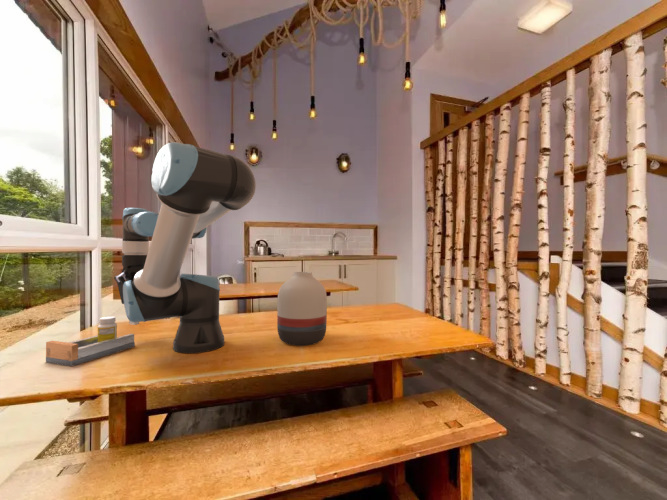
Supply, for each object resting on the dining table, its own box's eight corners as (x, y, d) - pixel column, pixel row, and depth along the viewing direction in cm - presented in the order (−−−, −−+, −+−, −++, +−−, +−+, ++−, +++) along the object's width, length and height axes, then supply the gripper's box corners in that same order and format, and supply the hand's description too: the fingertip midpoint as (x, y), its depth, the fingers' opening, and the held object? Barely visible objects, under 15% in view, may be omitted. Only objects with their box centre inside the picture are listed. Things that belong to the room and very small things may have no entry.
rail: (134, 346, 97) (134, 329, 97) (71, 366, 80) (71, 345, 80) (111, 343, 100) (111, 326, 100) (45, 362, 83) (46, 342, 83)
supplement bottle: (104, 342, 96) (104, 316, 96) (120, 342, 96) (120, 316, 96) (93, 347, 91) (94, 319, 91) (110, 347, 91) (110, 319, 91)
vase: (315, 351, 94) (316, 274, 94) (267, 345, 99) (268, 273, 100) (333, 336, 110) (333, 271, 110) (291, 332, 115) (291, 270, 116)
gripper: (144, 253, 110) (142, 319, 110) (108, 254, 97) (106, 327, 97) (160, 254, 108) (159, 320, 108) (125, 254, 95) (124, 329, 95)
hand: (134, 323), depth 102 cm, fingers closed
